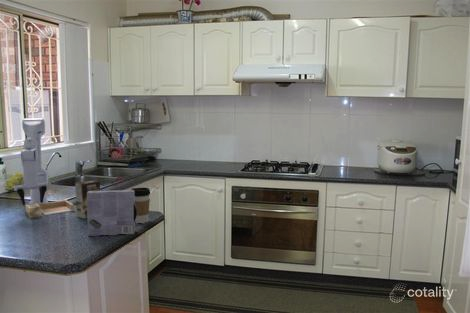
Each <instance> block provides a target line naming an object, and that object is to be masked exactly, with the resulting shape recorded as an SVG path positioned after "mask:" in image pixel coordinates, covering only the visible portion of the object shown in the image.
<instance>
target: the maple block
mask: <svg viewBox="0 0 470 313" xmlns="http://www.w3.org/2000/svg"><path fill="white" fill-rule="evenodd" d="M24 206H25V215H27V217H28V218H30V219H32V218H36V217H37V218H38V217H42V214H43V213H42V212H41V206H40V205H39V204H37V203H32V204H30V203H25V205H24Z"/></svg>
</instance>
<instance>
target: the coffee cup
mask: <svg viewBox="0 0 470 313" xmlns="http://www.w3.org/2000/svg"><path fill="white" fill-rule="evenodd" d="M131 190H134V191H135V203H136V206H137V217H136V220H135V222H136V223H135V224H138V223H142V224H146V223H145V222H147V223H148V222H149V216H150V201H151V199H150V195H151V190H150V188H149V187H134V188H131Z"/></svg>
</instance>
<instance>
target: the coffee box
mask: <svg viewBox="0 0 470 313" xmlns="http://www.w3.org/2000/svg"><path fill="white" fill-rule="evenodd" d="M74 186H75V202H76V205H75V206H76V208H75V209H76V217H77V218H79V219H87V192H88V191H101V182H100V180H94V179H91V180H84V181H78V182H75V185H74Z"/></svg>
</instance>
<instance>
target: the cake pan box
mask: <svg viewBox="0 0 470 313" xmlns="http://www.w3.org/2000/svg"><path fill="white" fill-rule="evenodd" d="M136 217H137V206H136V203H135V191H134V190H130V189H128V190H127V189H126V190H100V191H88V192H87V218H86V219H87V220H86V221H87V224H86V225H87V236H88V237H99V236H100V235H104V236H105V235H109V236H119V235H118V234H126V235H135V232H136V223H135V220H136Z"/></svg>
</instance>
